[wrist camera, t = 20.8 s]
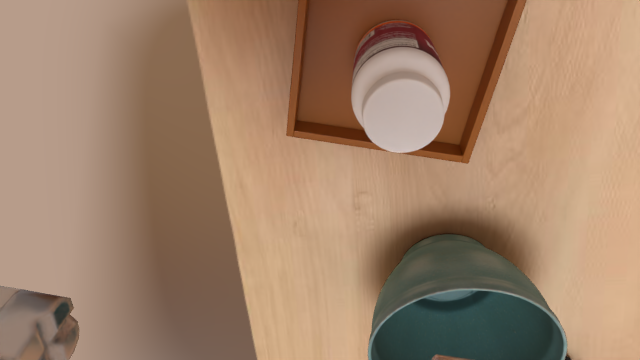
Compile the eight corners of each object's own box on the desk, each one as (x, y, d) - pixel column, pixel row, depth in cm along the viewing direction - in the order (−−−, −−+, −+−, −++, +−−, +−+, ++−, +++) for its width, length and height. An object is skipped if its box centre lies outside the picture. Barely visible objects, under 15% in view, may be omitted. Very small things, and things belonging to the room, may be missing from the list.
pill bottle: (436, 91, 36) (459, 160, 27) (359, 100, 37) (356, 170, 28) (433, 10, 33) (458, 59, 24) (349, 23, 34) (341, 74, 25)
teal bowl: (482, 176, 41) (515, 259, 32) (554, 285, 47) (598, 380, 38) (338, 249, 47) (330, 335, 38) (417, 336, 53) (428, 428, 44)
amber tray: (290, 122, 39) (286, 136, 37) (308, -59, 32) (303, -55, 29) (462, 148, 39) (468, 163, 37) (522, -28, 31) (534, -21, 29)
